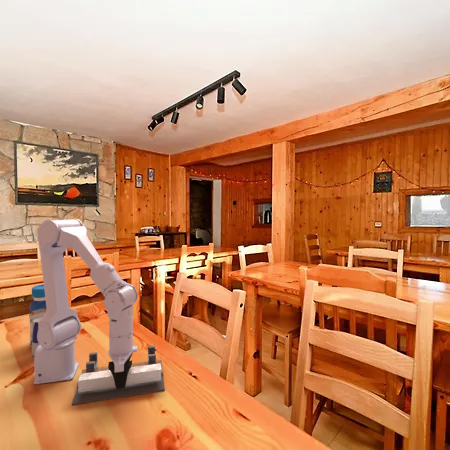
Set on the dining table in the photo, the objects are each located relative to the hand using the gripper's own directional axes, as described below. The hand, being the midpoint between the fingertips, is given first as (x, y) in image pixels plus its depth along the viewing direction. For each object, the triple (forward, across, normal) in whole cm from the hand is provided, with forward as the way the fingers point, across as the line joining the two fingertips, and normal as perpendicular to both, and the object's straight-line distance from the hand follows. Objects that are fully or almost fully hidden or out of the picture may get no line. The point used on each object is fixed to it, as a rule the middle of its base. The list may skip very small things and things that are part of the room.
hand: (121, 383), depth 74 cm
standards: (+2, +7, 0) cm, 7 cm away
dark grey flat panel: (+2, 0, 0) cm, 2 cm away
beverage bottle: (+2, +33, +27) cm, 43 cm away
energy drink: (+2, +24, +25) cm, 35 cm away
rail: (0, 0, 0) cm, 0 cm away
